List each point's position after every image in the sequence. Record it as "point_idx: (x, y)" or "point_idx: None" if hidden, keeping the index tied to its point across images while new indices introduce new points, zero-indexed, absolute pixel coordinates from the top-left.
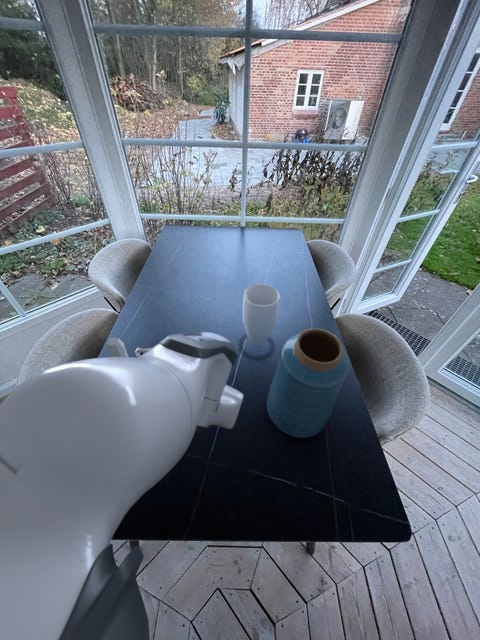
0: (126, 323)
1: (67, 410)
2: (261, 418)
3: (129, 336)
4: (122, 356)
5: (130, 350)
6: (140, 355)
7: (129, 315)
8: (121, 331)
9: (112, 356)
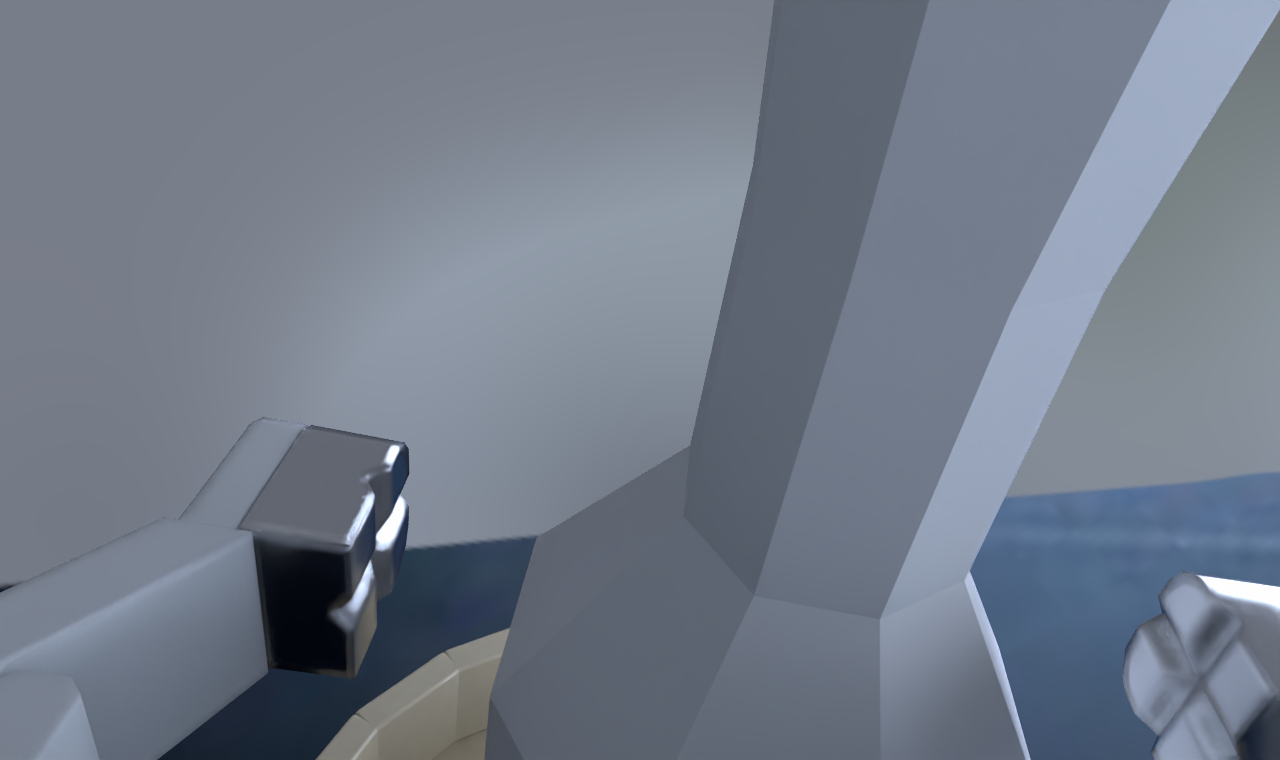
0: (1198, 519)
1: None
2: None
3: (1133, 592)
4: (930, 155)
5: (1034, 666)
6: (1219, 745)
7: (1269, 507)
8: (1114, 520)
9: (774, 22)
